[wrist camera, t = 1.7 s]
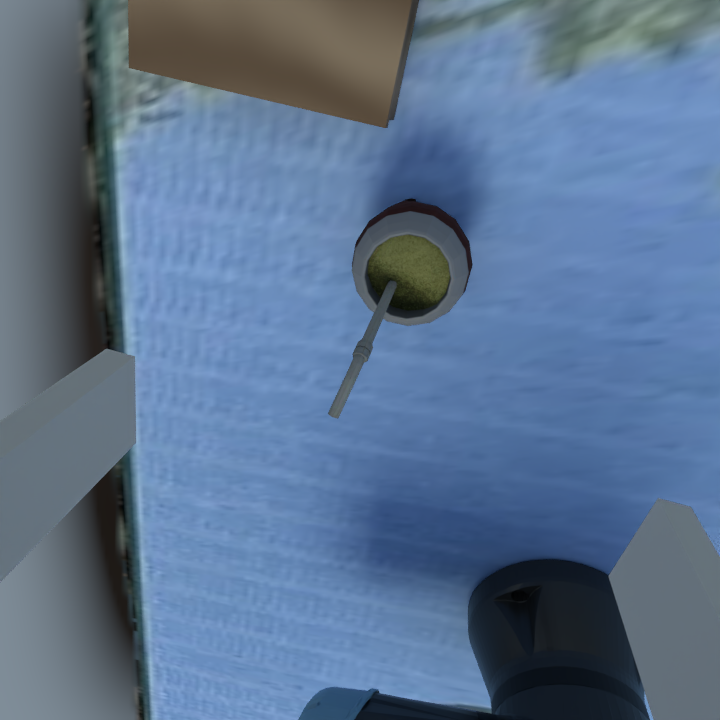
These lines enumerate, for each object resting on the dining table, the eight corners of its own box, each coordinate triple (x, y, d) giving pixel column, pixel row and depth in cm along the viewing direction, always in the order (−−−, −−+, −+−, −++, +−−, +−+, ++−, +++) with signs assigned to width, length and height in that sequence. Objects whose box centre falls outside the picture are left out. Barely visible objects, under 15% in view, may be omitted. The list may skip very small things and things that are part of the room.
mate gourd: (462, 181, 33) (463, 227, 19) (477, 296, 36) (487, 404, 23) (351, 204, 35) (283, 261, 21) (375, 312, 38) (328, 420, 24)
